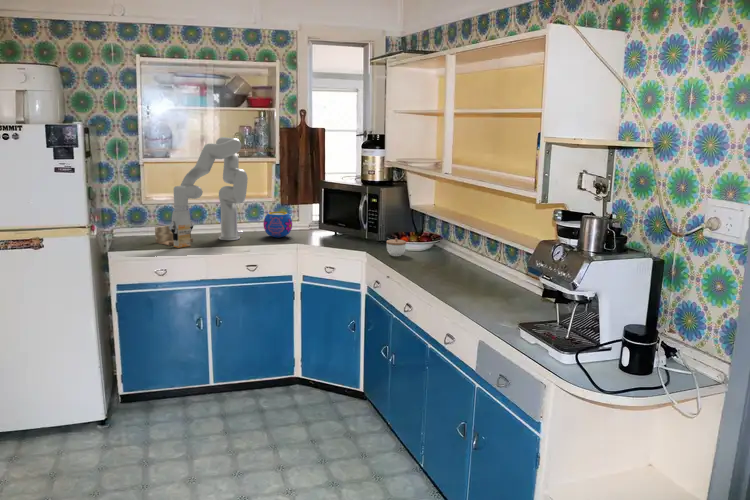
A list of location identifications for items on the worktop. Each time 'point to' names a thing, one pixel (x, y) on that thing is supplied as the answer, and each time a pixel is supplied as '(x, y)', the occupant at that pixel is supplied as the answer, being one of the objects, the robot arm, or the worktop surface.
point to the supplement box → (183, 236)
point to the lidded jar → (396, 247)
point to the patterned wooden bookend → (165, 236)
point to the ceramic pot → (277, 224)
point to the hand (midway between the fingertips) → (182, 239)
